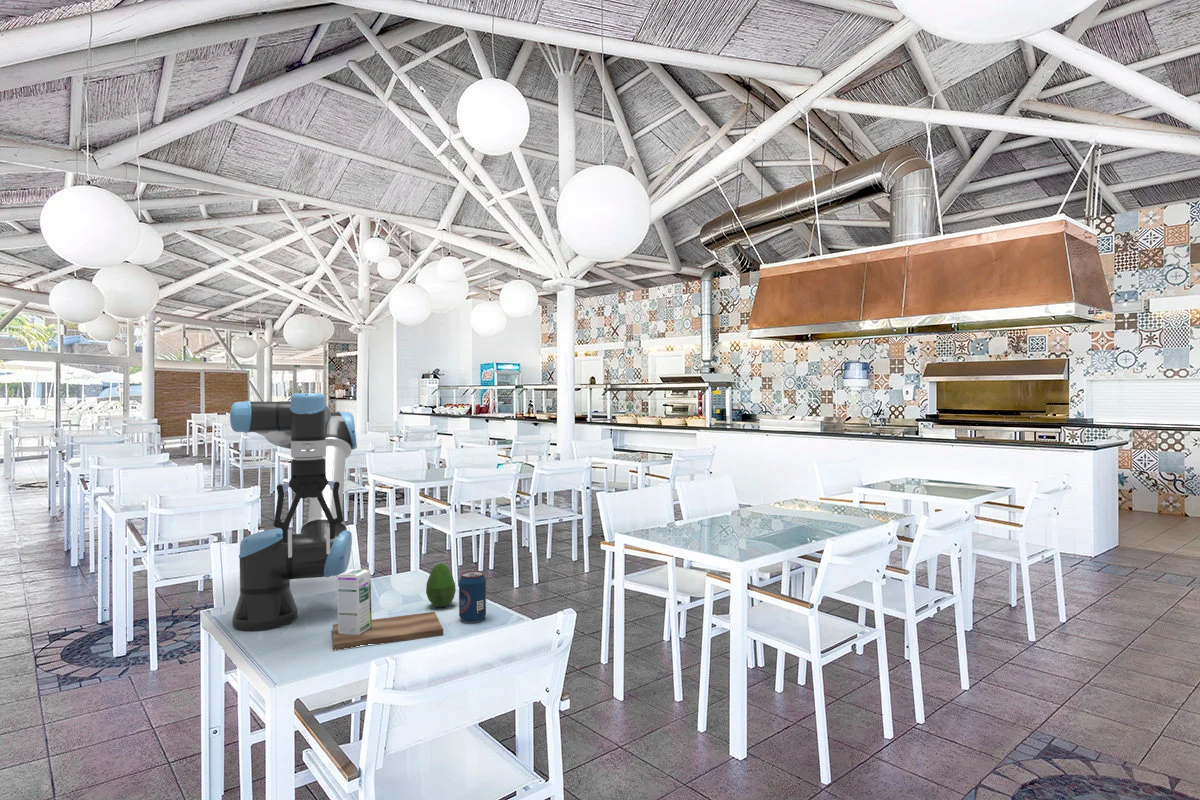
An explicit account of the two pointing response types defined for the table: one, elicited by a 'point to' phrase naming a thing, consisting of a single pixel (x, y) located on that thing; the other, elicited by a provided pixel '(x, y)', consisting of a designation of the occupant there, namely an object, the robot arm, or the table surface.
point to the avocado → (440, 586)
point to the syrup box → (354, 601)
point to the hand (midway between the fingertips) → (309, 554)
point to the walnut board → (391, 630)
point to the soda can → (472, 596)
